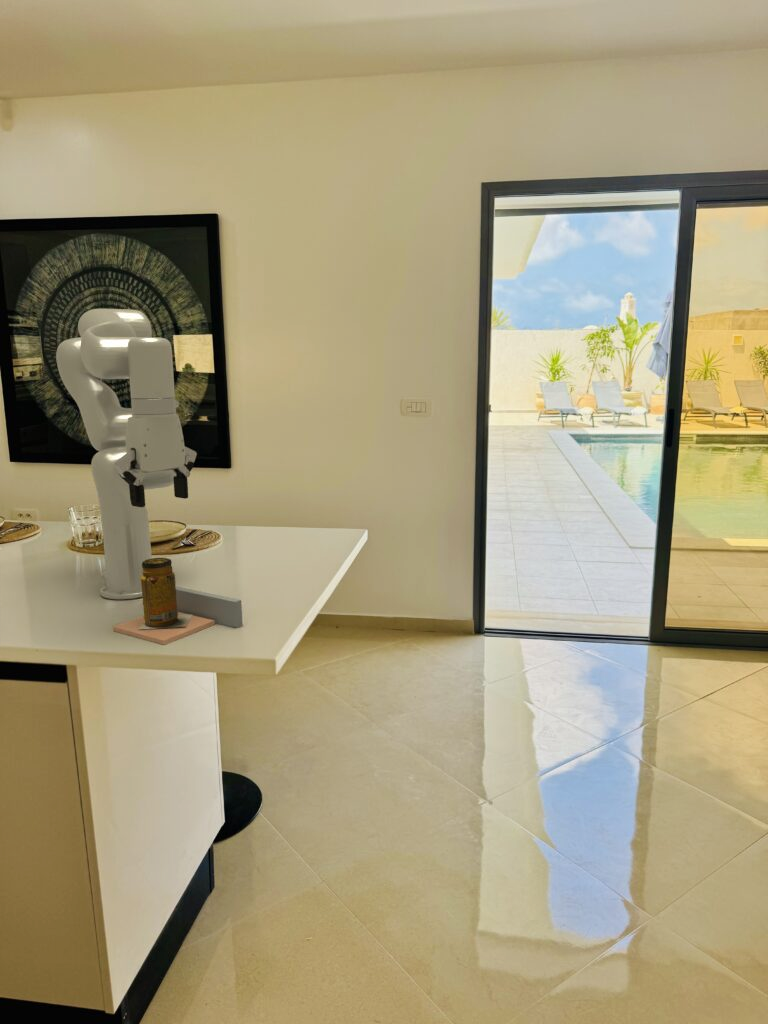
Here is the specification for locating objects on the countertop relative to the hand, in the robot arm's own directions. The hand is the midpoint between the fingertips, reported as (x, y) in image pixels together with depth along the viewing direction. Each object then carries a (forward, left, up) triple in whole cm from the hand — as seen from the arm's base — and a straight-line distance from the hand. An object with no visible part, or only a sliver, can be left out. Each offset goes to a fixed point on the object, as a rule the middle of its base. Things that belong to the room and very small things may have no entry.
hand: (160, 501), depth 133 cm
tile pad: (+1, -2, -23) cm, 24 cm away
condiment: (+1, -2, -23) cm, 23 cm away
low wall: (+2, +5, -23) cm, 24 cm away
